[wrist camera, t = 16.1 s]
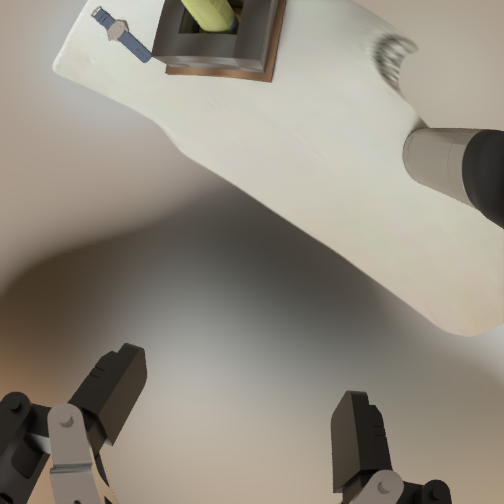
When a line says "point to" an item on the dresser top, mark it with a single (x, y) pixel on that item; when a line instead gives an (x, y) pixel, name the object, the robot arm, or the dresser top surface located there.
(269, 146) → the dresser top surface
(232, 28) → the tube
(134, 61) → the dresser top surface
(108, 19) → the wristwatch
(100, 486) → the robot arm
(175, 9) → the socket
